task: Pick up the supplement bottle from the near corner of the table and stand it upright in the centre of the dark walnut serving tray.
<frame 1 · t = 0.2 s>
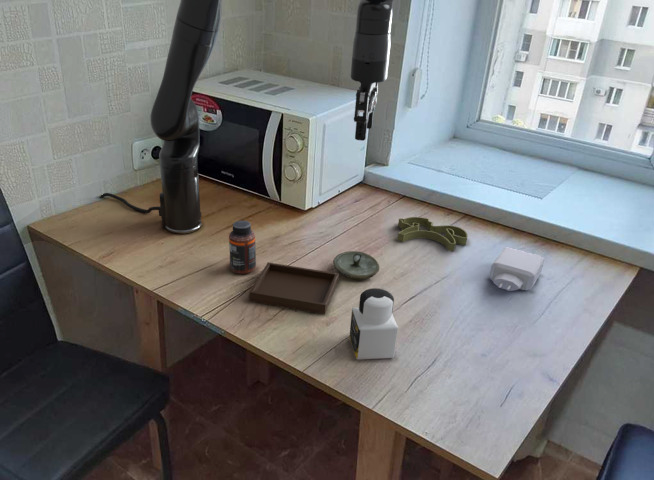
hand: (363, 133, 133), 29 cm above the table, tool pointing down, fingers open, 8 cm apart
cookie cutter: (430, 237, 156), on the table
antique brass shank button: (355, 271, 140), on the table
supplement bottle: (243, 269, 141), on the table
medicine bottle: (370, 348, 116), on the table
tray: (294, 291, 132), on the table
charger: (510, 284, 136), on the table
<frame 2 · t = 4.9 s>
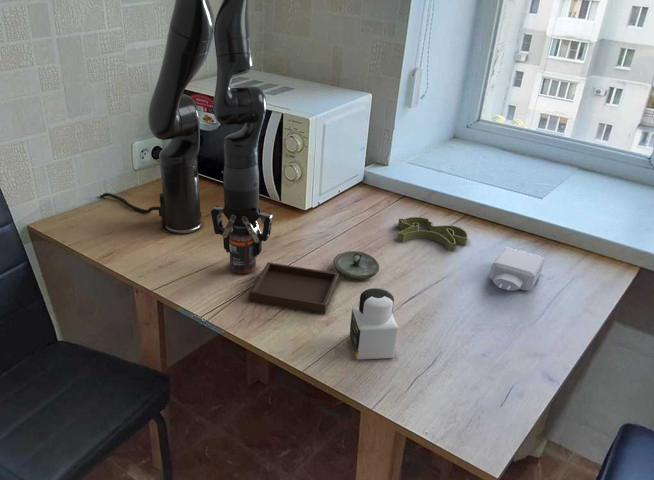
hand: (242, 252, 139), 4 cm above the table, tool pointing down, fingers closed on supplement bottle, 6 cm apart
supplement bottle: (243, 269, 141), on the table, touching gripper
everything else where it was.
when the fingers open (5 cm above the table, at t = 11.0 s): supplement bottle stays where it is, resting on tray.
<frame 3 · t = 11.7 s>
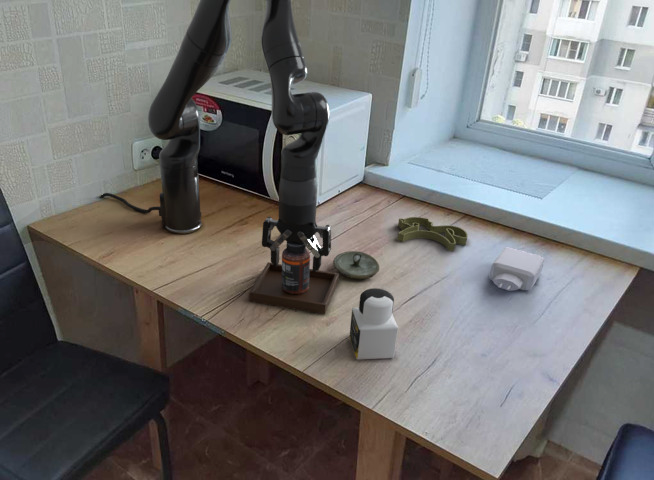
hand: (295, 267, 129), 6 cm above the table, tool pointing down, fingers open, 8 cm apart
supplement bottle: (295, 289, 132), point 1 cm above the table, touching tray
everything else where it was.
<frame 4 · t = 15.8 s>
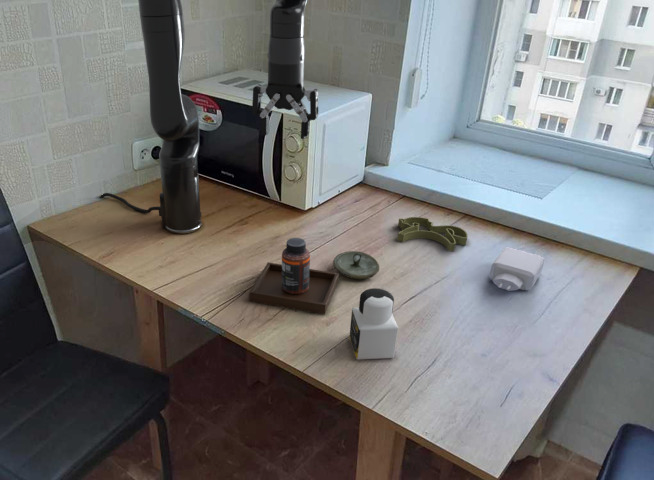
hand: (284, 136, 134), 28 cm above the table, tool pointing down, fingers open, 8 cm apart
nothing on the table moved.
at the end: supplement bottle 0.1 cm off-centre in the tray, point 0.6 cm above the tray's base; supplement bottle tilted 0°; the gripper is holding nothing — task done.
